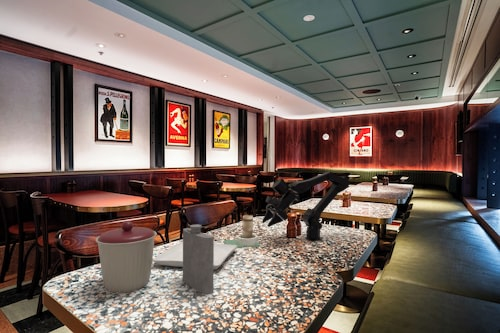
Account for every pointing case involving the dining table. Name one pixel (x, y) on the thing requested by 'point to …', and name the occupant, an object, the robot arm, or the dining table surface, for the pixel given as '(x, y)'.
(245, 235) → the tan tapered tumbler
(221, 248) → the square plate
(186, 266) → the hip flask
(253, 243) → the octagonal cup coaster
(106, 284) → the canister
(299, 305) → the dining table surface
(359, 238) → the dining table surface
